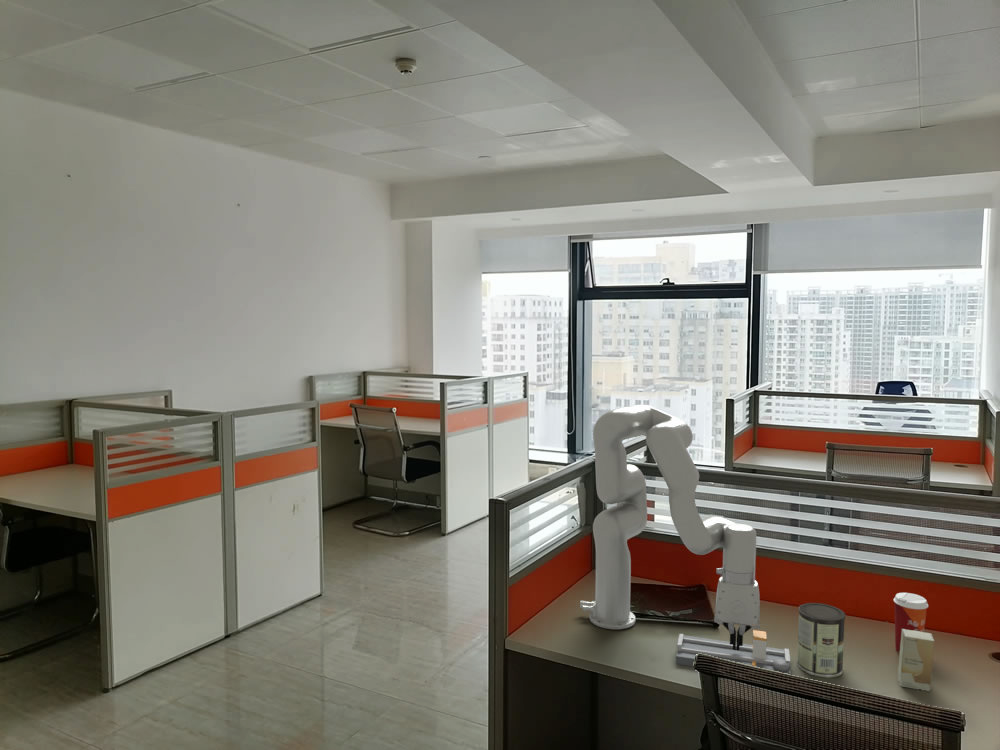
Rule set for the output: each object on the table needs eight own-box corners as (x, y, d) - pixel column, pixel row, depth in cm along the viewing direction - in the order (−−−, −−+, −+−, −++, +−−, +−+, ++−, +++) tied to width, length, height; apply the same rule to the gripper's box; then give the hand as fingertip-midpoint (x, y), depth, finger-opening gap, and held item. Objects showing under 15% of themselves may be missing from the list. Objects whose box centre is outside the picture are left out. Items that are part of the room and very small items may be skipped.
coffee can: (819, 654, 184) (822, 599, 183) (852, 673, 175) (855, 616, 173) (786, 661, 181) (789, 605, 179) (818, 681, 171) (821, 623, 170)
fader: (752, 659, 177) (753, 637, 176) (752, 651, 181) (753, 629, 180) (765, 661, 176) (766, 638, 176) (765, 653, 180) (766, 631, 179)
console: (675, 663, 179) (676, 649, 179) (680, 642, 190) (680, 628, 190) (790, 681, 171) (790, 666, 170) (787, 657, 182) (788, 643, 182)
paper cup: (912, 661, 180) (916, 606, 179) (884, 648, 187) (886, 595, 186) (932, 654, 184) (935, 600, 183) (903, 641, 191) (906, 589, 189)
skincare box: (899, 687, 168) (902, 635, 167) (897, 677, 172) (899, 627, 171) (931, 692, 166) (935, 640, 165) (928, 683, 170) (931, 632, 169)
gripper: (705, 577, 177) (703, 650, 179) (771, 584, 172) (768, 659, 174) (707, 566, 184) (705, 636, 186) (770, 573, 179) (768, 645, 181)
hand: (736, 647), depth 180 cm, fingers closed
